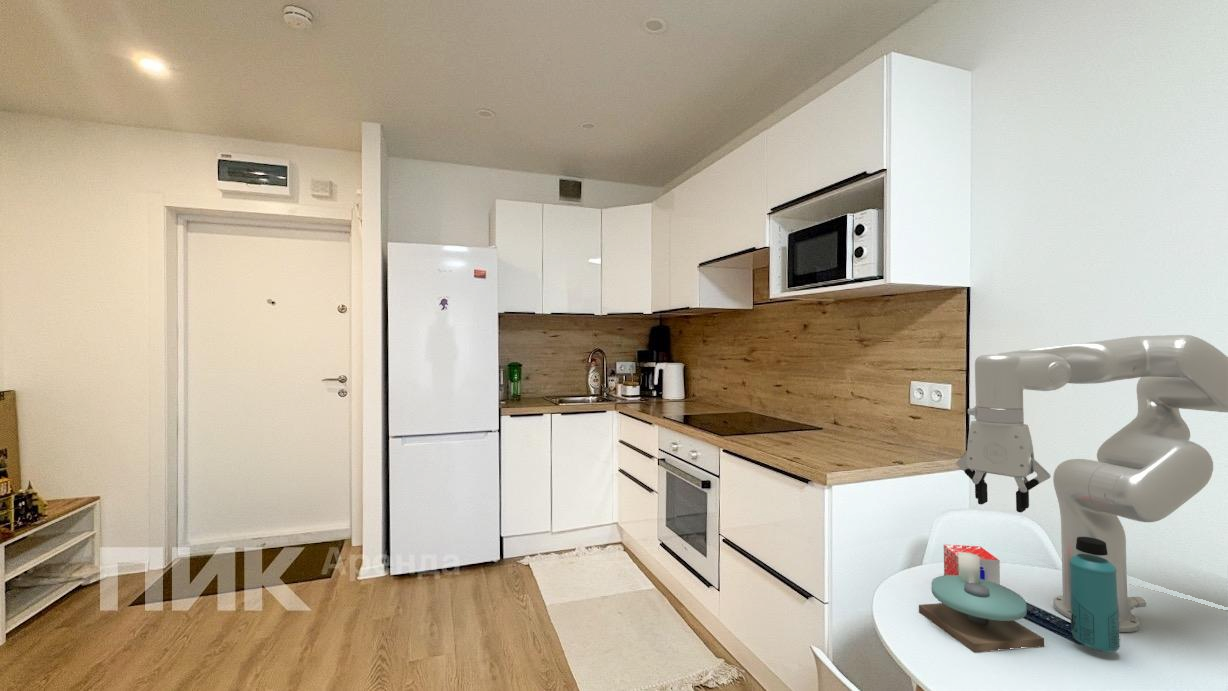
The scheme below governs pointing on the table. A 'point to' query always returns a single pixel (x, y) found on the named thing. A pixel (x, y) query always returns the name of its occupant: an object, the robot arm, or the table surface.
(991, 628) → the stand
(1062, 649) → the table surface
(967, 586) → the handwheel
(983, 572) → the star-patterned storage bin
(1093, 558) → the beverage bottle
